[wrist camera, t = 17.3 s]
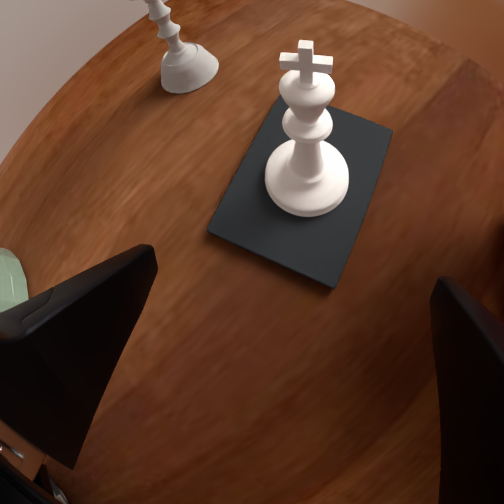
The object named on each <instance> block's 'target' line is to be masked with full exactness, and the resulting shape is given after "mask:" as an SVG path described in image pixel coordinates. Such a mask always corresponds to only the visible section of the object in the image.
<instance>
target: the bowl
mask: <svg viewBox="0 0 504 504" xmlns="http://www.w3.org/2000/svg"><path fill="white" fill-rule="evenodd" d="M26 300H29V298H28V290H27V282H26V277H25V275H24V272H23V269H22V267H21V264H20V261H19V259H18V258H17V257H16V256H15V255H14V254H13V253H12V252H11V251H10V250H8V249H5V248H1V247H0V313H1V312H3V311H5V310H8V309H10V308H12V307H14V306H16V305H18V304H20V303H22V302H24V301H26Z"/></svg>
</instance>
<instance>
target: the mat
mask: <svg viewBox="0 0 504 504" xmlns="http://www.w3.org/2000/svg"><path fill="white" fill-rule="evenodd" d="M289 108H290V107H289V106H288V105H287V104H286V102H285V101H284V99H283V98H282V96H281V94H280V96H279V97H278V99H277V101H276V102H275V104H274V106H273V108H272V109H271V111H270V113H269V115H268V116H267V118H266V120H265V121H264V123H263V125H262V127H261V129H260V130H259V132H258V134H257V136H256V137H255V139H254V141H253V143H252V145H251V146H250V148H249V150H248V152H247V154H246V155H245V157H244V159H243V161H242V163H241V165H240V167H239V168H238V170H237V172H236V174H235V176H234V178H233V180H232V181H231V183H230V185H229V187H228V189H227V191H226V193H225V195H224V197H223V199H222V200H221V202H220V204H219V206H218V208H217V210H216V212H215V214H214V216H213V218H212V220H211V222H210V224H209V226H208V228H207V230H206V231H207V232H208V233H210V234H212V235H214V236H216V237H219V238H221V239H223V240H225V241H227V242H230V243H232V244H234V245H236V246H239V247H241V248H243V249H245V250H247V251H250V252H252V253H254V254H256V255H258V256H261V257H263V258H265V259H267V260H269V261H272V262H274V263H276V264H278V265H281V266H283V267H285V268H287V269H289V270H292V271H294V272H296V273H298V274H300V275H303V276H305V277H307V278H309V279H312V280H314V281H316V282H318V283H320V284H323V285H325V286H327V287H329V288H331V289H335V288H336V285H337V283H338V281H339V278H340V276H341V274H342V271H343V269H344V267H345V264H346V262H347V260H348V257H349V255H350V252H351V250H352V247H353V245H354V242H355V240H356V237H357V235H358V232H359V230H360V227H361V224H362V222H363V219H364V216H365V214H366V211H367V208H368V206H369V203H370V200H371V197H372V194H373V192H374V189H375V186H376V183H377V180H378V177H379V174H380V171H381V168H382V165H383V162H384V159H385V156H386V153H387V149H388V146H389V143H390V140H391V136H392V133H393V130H391V129H388V128H386V127H384V126H381V125H379V124H376V123H374V122H372V121H369V120H367V119H364V118H361V117H359V116H356V115H354V114H351V113H348V112H346V111H343V110H340V109H337V108H334V107H331V106H326V108H325V109H326V110H327V111H328V113H329V114H330V116H331V119H332V122H333V128H332V131H331V133H330V135H329V136H328V137H327V138H326V139H324V140H323V141H325V142H327V143H329V144H331V145H332V146H333V147H335V148H336V149H337V150H338V151H339V152H340V153H341V155H342V156H343V158H344V160H345V162H346V164H347V167H348V172H349V184H348V189H347V192H346V195H345V197H344V198H343V200H342V201H341V202H340V204H339V205H338V206H337V207H335V208H334V209H333V210H331V211H329V212H327V213H325V214H323V215H319V216H313V217H303V216H297V215H294V214H291V213H289V212H287V211H285V210H283V209H282V208H280V207H279V206H278V205H277V204H276V203H275V202H274V201H273V200H272V198H271V197H270V195H269V193H268V191H267V188H266V184H265V169H266V165H267V162H268V159H269V157H270V156H271V154H272V153H273V152H274V150H275V149H276V148H278V147H279V146H280V145H281V144H283V143H285V142H287V141H289V140H292V139H291V138H290V137H289V136H287V134H286V133H285V132H284V130H283V126H282V120H283V117H284V114H285V112H286V111H287V110H288V109H289Z"/></svg>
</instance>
